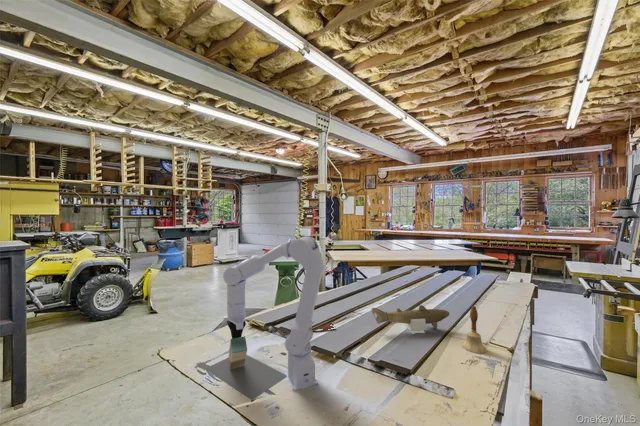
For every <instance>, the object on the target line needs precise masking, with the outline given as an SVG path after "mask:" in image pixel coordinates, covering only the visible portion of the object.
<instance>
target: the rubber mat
mask: <svg viewBox="0 0 640 426" xmlns="http://www.w3.org/2000/svg"><path fill="white" fill-rule="evenodd" d="M204 369H205V370H206V371H207V372H209V373H211V375H213V376H215V377H216V378H218V379H220V380H221V381H223V382H224V383H225V384H227V385H229V386H230V387H232V388H233V389H235V390H236V391H238V392H239V393H241V394H242V395H244V396H245V397H246V398H249V400H250V402H252V403H253V402H254V401H255V400H256V398H257V397H258V396H260V395H262V394H264V392H266V391H267V390H269V389H271V388H272V387H273V386H275V385H277V384H279V383H280V382H281V381H283V380H284V379H287V378H286V377H287V376H286V375H285V374H286V373H285V374H284V372H281V371H279V370H277V369H276V368H273V367H272V366H269V365H268V364H266V363H263V362H261V361H260V360H258V359H256V358H254V357H252V356H249V355H248V354H246V359H245V364H244V366H242V367H238V368H234V369H230V365H229V356H227V358H224V359H222V360H220V361H218V362H216V363H214V364H211V365H210V366H208V367H206V368H204Z"/></svg>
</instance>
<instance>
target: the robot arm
mask: <svg viewBox="0 0 640 426" xmlns="http://www.w3.org/2000/svg"><path fill="white" fill-rule="evenodd" d="M321 256H322V255H321V252H320V245H319V244H318V242H317V241H316V240H315V239H314V238H313V237H312V236H309V235H304V236H301V237H300V238H296V239H293V240H289V241H287V242H284V243H281V244H280V245H279V244H278V246H276V247H274V248H272V249H271V250H269V251H267V252H266V253H263V254H262V255H259V254H250V255H248V256H247V258H246V259H245V260H242V261H238V262H235V263H236V264H235V265H234V266H229V267H227V269H225V270H224V272H223V275H222V276H223V281H224V282H225V283H226V300H227V301H226V306H227V307H226V308H227V309H226V310H227V312H226V315H223V320H224V321H226V320H227V321H226V323H227V327H228V329H229V330H230V335H231V339H233V338H239V337H243V336H242V335H243V331H244V329H245V328H246V325H247V321H246V320H245V319H246V317H247V315H246V281H247V279H249V278H251V277H254V276H255V275H257V274H259V273H261V272H263V271H264V269H265V266H266V265H267V264H270V263H272V262H274V261H275V260H278V259H280V258H282V257H285V258H287V259H289V258H292V259H293V260H294V261H295V262H297V263H298V264H299V265H301V267H302V269H304V270H305V273H304V280H303V284H302V288H301V292H300V295H299V296H300V298H299V302H298V305H297V310H296V315H295V319H294V322H293V326H292V328H291V332H290V334H289V335H287V337H286V339H285V340H284V341H285V342H284V347H285V350H286V351H287V371H284V372H283V374H285V375H286V376H287V377H286V378H285V379H287V381H288V383H289V384H290V386H291V388H292V390H293V391H298V390H301V389H305V388H308V387H311V386H315V385H319V382H318V380H317V379H316V363H315V361H314V360H313V357H312V345H311V342H310V341H311V340H312V338H313V336H314V332H313V330H312V324H313V322H314V321H312V320H313V317H314V312H315V306H316V302H317V298H318V293H319V289H320V284H321V282H322V281H321V279H322V276H323V271H324V267H325V265H324V262H323V259H322V257H321Z"/></svg>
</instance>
